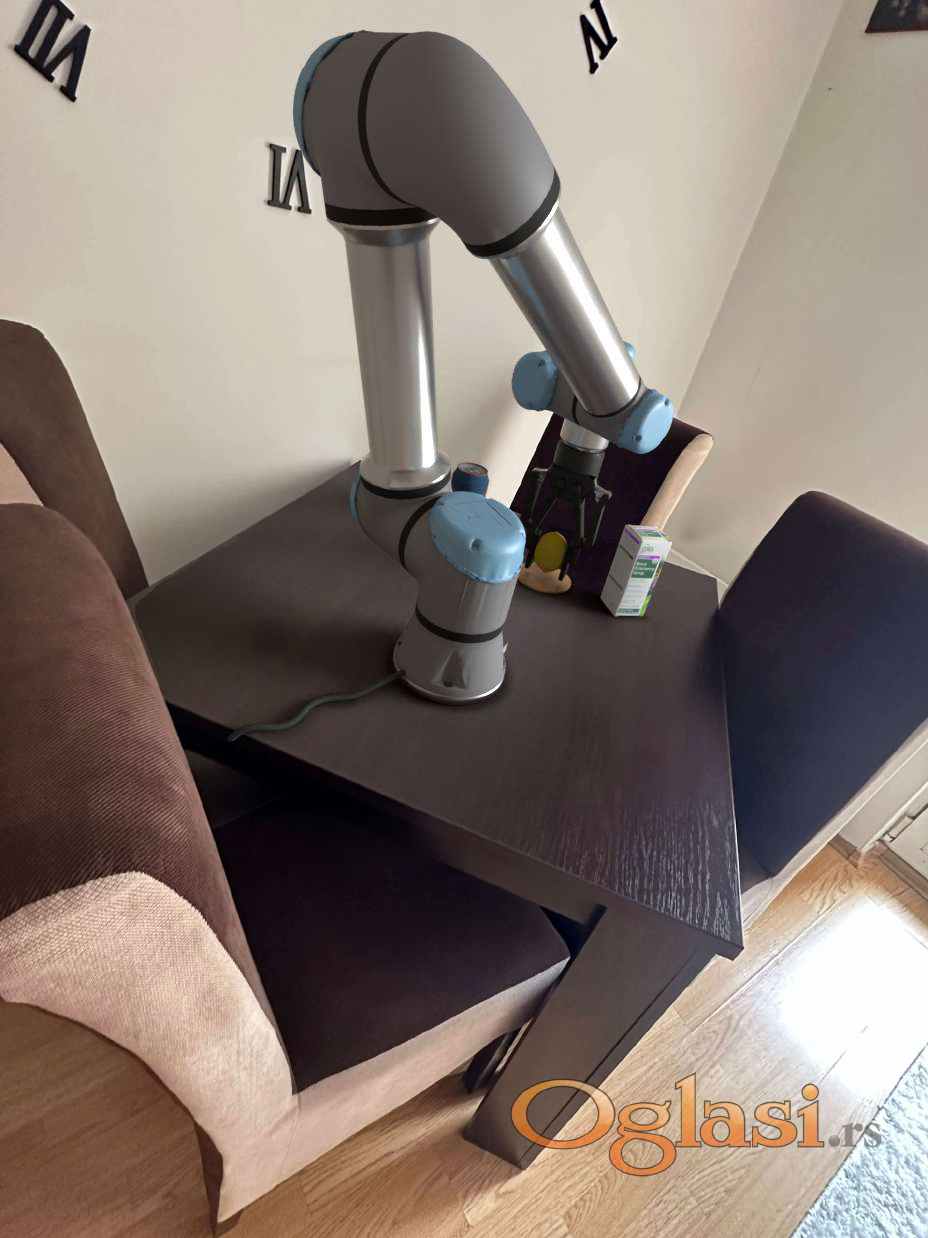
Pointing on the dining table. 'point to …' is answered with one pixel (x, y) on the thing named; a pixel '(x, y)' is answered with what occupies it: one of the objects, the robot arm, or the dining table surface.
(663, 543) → the syrup box
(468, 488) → the soda can
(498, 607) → the robot arm
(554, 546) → the lemon
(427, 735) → the dining table surface
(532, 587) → the coaster
